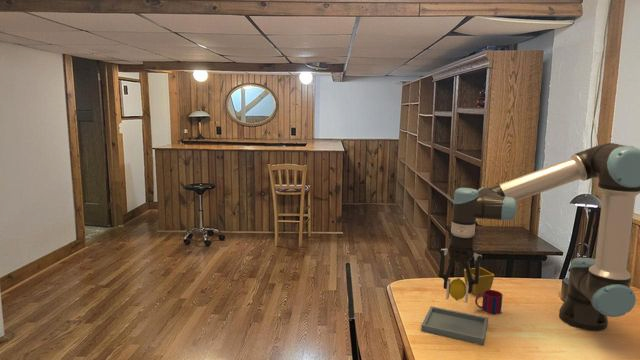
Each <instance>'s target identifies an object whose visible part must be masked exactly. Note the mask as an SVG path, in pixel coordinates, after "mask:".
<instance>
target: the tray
mask: <svg viewBox="0 0 640 360" xmlns="http://www.w3.org/2000/svg"><path fill="white" fill-rule="evenodd" d="M426 313H427V314H426V315H425V317H424V319H423V321H422V324H421V326H420V328H421V329H420V332H423V333H428V334H431V335H437V336H440V337H445V338H449V339H454V340H458V341H463V342H467V343H470V344H475V345H480V346H484V344H485V340H486V339H485V338H486V333H487V328H488V321H489V317H485V316H482V315H476V314H472V313H471V314H470V313H465V312H461V311H456V310H452V309H447V308H443V307H442V308H441V307H437V306H432V305H430V307H429V309H428V311H427V312H426Z"/></svg>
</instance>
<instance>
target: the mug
mask: <svg viewBox="0 0 640 360" xmlns="http://www.w3.org/2000/svg"><path fill="white" fill-rule="evenodd" d="M503 296H504V295H503V293H502V292H500V291H498V290H494V289H490V290H485V291H484V292H483V295H476V297H475V299H474V303H475V305H476V306H477V308H479V309H482V312H485V313H487V314H490V315H499V314H501V313H502V305H503V303H502V302H503ZM480 297H481V298H482V304H481V306H480V305H478V299H479V298H480Z"/></svg>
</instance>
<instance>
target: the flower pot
mask: <svg viewBox="0 0 640 360" xmlns="http://www.w3.org/2000/svg"><path fill="white" fill-rule="evenodd" d="M471 273H472V277H473V279H475V267H472V268H471ZM463 276H464V283H465V285H466V284H467V282H468V278H467V273H466V269H465V268H464V269H463ZM494 280H495V274H494V273H492V272H490V271H488V270H486V269H485V268H483V267H480V271H479V282H478V284H473V289H472V293H471V294H474V295H475V296H478V295H483V292H484V291H485V290H492V287H493V282H494Z"/></svg>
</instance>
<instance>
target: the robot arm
mask: <svg viewBox="0 0 640 360" xmlns="http://www.w3.org/2000/svg"><path fill="white" fill-rule="evenodd" d="M597 178H598V184H597V188H598V189H599V190H600V191H601V192H602V198H601V206H600V207H601V208H600V216H599V223H598V224H599V225H598V233H597V240H596V241H597V242H596V251H595V252H596V253H595V258H591V257H576V258H573V259H571V263H570V266H569V268H570V269H569V274H568V275H569V276H568V286H567V291H566V293H567V294H566V297H565V300H563V303H562V305H561V306H560V308H559V313H558V315H559V319H560V320H561V321H562V322H564V323H565V324H567V325H569V326H571V327H573V328H576V329H579V330H580V329H581V330H586V331H593V332H600V331H604V330H606V329H608V324H609V323H608V322H609V320H608V317H610V318H617V317H623V316H625V315H626V314H627V313H630V312H631V311H632V310H633V309H634V308H635V305H636V303H637V302H636V301H637V298H636V295H635V292H634V291H633V290H632V288H631V283H632V282H631V280H632V274H631V272H629V271H628V270H627V268H628V266H627V265H628V258H629V249H630V241H631V235H632V227H633V219H634V212H635V211H634V210H635V204H636V197H637V196H638V195H640V148H637V147H635V146H633V145H632V146H631V145H624V144H619V143H613V142H609V143H602V144H601V143H600V144H598V145H595V146H592V147H589V148H587V149H584V150H582V151H579V152H576V153H573V154H572V155H571V157H570V158H568V159H566V160H562V161H560V162H557V163H554V164H552V165H549V166H546V167H543V168H541V169H538V170H535V171H532V172H530V173H527V174H525V175H521V176H519V177H516V178H514V179H510V180H507V181H505V182H503V183H499V184H496V185H493V186H491V187H488V186H484V187H483V186H482V187H479V188H478V189H474V188H471V187H470V188H469V187H459V188H456V189H455V190H454V193H453V195H454V196H453V201H452V215H451V216H452V217H451V226H450V227H451V228H450V240H449V246H448V247H447V248H441V249H440V250H439V253H440V263H439V271H438V278H440V279H442V280H443V289H444V290H446V293H445V300H449V299H450V292H449V287H450V284H451V282H452V280H451V278H450V275H451V272H452V271H453V268H454V266H455V262H460V263H463V265H464V269H466V273H467V278H468V282H467V284H465V285H466V294H465V296H464V303H465V304H468V302H469V295H472V294H473V293H472V289H473V284H478V282H479V271H480V268H481V265H480V264H481V261H482V259H483V254H482V253H476V252H475V250H474V246H475V245H474V244H475V243H474V241H475V233H476V232H475V231H476V220H477V219H483V220H494V221H495V220H496V221H514V219H515V218H516V216H517V210H518V206H517V201H521V200H523V199H526V198H530V197H532V196H535V195H538V194H541V193H543V192H546V191H549V190H552V189H556V188H558V187H562V186H563V185H566V184H569V183H573V182H576V181H579V180H581V181H583V182H584V181H587V180H591V179H597ZM448 254H449V256H450V257H451V258H452V259H451V261H450V262H449V265H448V269H447V271H446V273H444V272H445V266H446V260H447V259H446V258H447V255H448ZM473 257H474V258H473ZM472 258H473V259H474V261H475V265H474V266H475V267H474V268H475V279H473V277H472V273H471V269H472V268H471V266H470V265H471V264H470V260H471V259H472Z"/></svg>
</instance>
